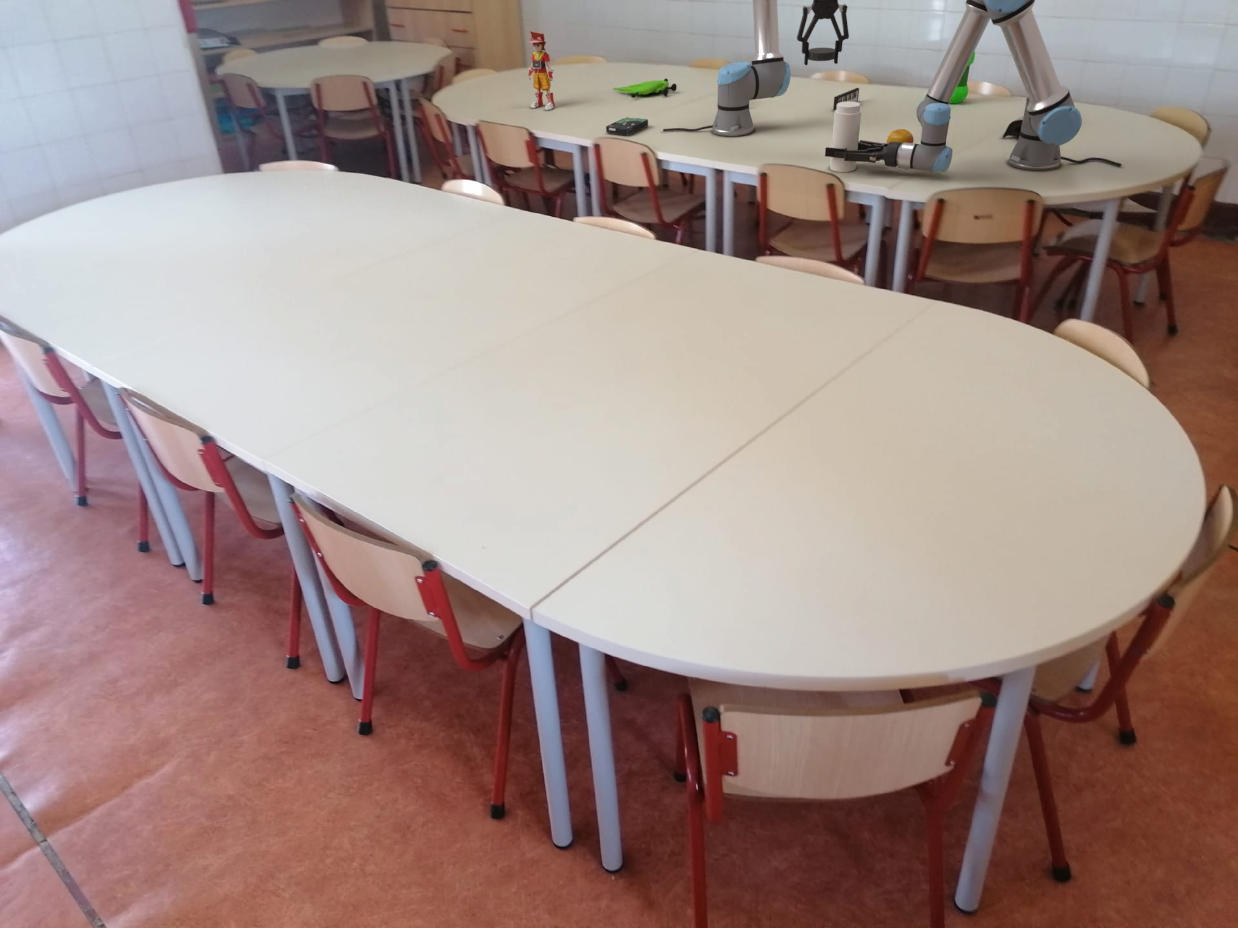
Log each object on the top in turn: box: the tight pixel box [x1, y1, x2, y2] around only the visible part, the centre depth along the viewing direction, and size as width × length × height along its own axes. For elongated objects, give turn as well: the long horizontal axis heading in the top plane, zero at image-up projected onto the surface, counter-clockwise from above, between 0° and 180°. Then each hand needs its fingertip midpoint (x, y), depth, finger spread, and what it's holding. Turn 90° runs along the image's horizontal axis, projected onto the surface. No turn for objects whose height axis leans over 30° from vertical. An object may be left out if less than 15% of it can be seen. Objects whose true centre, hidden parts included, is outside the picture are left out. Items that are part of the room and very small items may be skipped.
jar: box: [829, 101, 862, 173], centre depth 288 cm, size 8×8×20 cm
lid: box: [808, 47, 836, 62], centre depth 290 cm, size 9×9×2 cm
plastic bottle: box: [949, 50, 976, 104], centre depth 348 cm, size 10×10×25 cm
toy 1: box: [527, 31, 556, 111], centre depth 374 cm, size 12×9×30 cm
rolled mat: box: [1002, 115, 1024, 140], centre depth 316 cm, size 30×9×10 cm
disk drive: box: [605, 116, 649, 136], centre depth 345 cm, size 10×3×15 cm
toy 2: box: [612, 78, 677, 99], centre depth 396 cm, size 28×5×30 cm
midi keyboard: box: [832, 87, 860, 111], centre depth 357 cm, size 18×1×5 cm, turn 138°
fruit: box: [886, 128, 915, 144], centre depth 303 cm, size 8×8×8 cm
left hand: (820, 63), depth 291 cm, fingers closed on lid, 9 cm apart
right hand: (830, 148), depth 292 cm, fingers closed on jar, 8 cm apart
